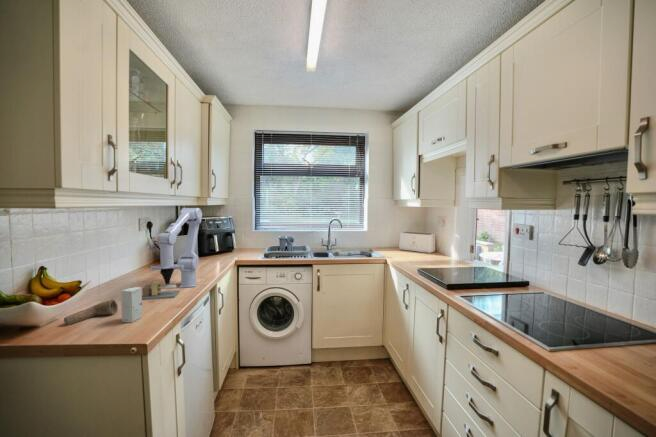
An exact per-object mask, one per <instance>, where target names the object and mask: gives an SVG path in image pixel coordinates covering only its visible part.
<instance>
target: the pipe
mask: <svg viewBox="0 0 656 437" xmlns="http://www.w3.org/2000/svg"><path fill="white" fill-rule="evenodd" d="M118 306H119V305H118V303H117V300H115V299H113V298H111V299H110V300H106V301H103V302H100V303H97V304H95V305H93V306H91V307H88V308H86V309H82V310H80V311H79V310H78V311H77V312H74V313H72V314H70V315H69V314H68V315H66V316H65V317H64V318H63V322H64V324H65V325H67V326H70V325H72V324H73V325H74V324H76V323H79V322H82V321H85V320H88V319H91V318H93V317H99V316H100V317H103V316H114V315H116V314H117V312H118V310H119V309H118Z"/></svg>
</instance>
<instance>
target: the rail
mask: <svg viewBox="0 0 656 437" xmlns="http://www.w3.org/2000/svg"><path fill="white" fill-rule="evenodd" d="M158 289H161V292H160V293H159V294H158V295H154V296H152V284H146V285H144V286H143V287H142V301H146V300H160V299H161V300H163V299H173V298H174V299H175V298H176V297H177V296H178V295H179V293H180V290H172V289H177V284H165V285H161V286H158ZM168 289H169V290H168ZM170 289H171V290H170ZM162 290H164V291H162ZM166 290H167V291H166Z"/></svg>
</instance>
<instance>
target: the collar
mask: <svg viewBox="0 0 656 437" xmlns="http://www.w3.org/2000/svg"><path fill="white" fill-rule="evenodd" d="M151 285H152V296H154V295H158V294H159V293H160V292H162V289H158V286H162V280H160V279H159V280H158V279H157V280H154V281H153V282H151Z"/></svg>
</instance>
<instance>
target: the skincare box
mask: <svg viewBox="0 0 656 437" xmlns="http://www.w3.org/2000/svg"><path fill="white" fill-rule="evenodd" d="M142 296H143V292H142V287H141V286H138V287H137V286H135V287H134V286H133V287H129V288H126V289H123V290H121V291H120V300H121V305H120V306H121V322H122V323H133V322H135V321H137V320H139V319H141V318H143V300H142Z"/></svg>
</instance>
